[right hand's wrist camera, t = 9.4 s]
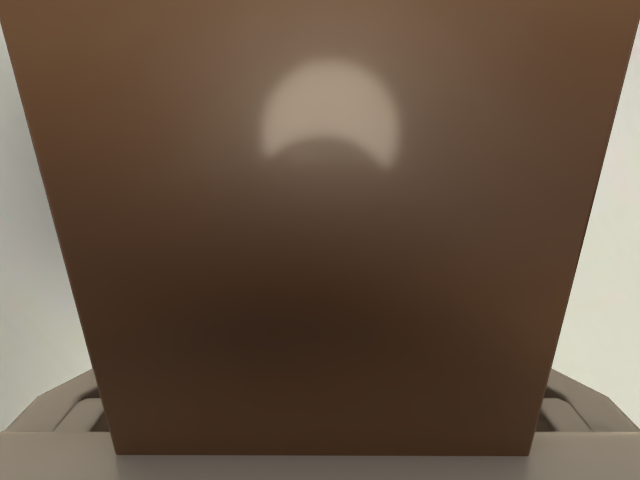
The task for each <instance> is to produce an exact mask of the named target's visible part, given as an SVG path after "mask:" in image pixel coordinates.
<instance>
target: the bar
mask: <svg viewBox="0 0 640 480" xmlns="http://www.w3.org/2000/svg"><path fill="white" fill-rule="evenodd" d="M639 20H640V0H0V22H1V26H2V30H3V34H4V37H5V41H6V45H7V49H8V52H9V56H10V60H11V64H12V67H13V71H14V75H15V79H16V82H17V86H18V90H19V94H20V97H21V101H22V105H23V109H24V112H25V116H26V120H27V124H28V128H29V131H30V135H31V139H32V143H33V146H34V150H35V154H36V158H37V161H38V165H39V169H40V173H41V176H42V180H43V184H44V188H45V191H46V195H47V199H48V203H49V206H50V210H51V214H52V218H53V221H54V225H55V229H56V233H57V236H58V240H59V244H60V248H61V251H62V255H63V259H64V263H65V266H66V270H67V274H68V278H69V281H70V285H71V289H72V293H73V296H74V300H75V304H76V308H77V311H78V315H79V319H80V323H81V326H82V330H83V334H84V338H85V341H86V345H87V349H88V353H89V356H90V360H91V364H92V368H93V371H94V375H95V379H96V383H97V386H98V390H99V394H100V398H101V401H102V405H103V409H104V413H105V416H106V420H107V424H108V428H109V431H110V435H111V439H112V443H113V447H114V450H115V454H117V455H287V456H528V455H529V454H530V450H531V446H532V442H533V438H534V434H535V430H536V426H537V422H538V418H539V414H540V410H541V406H542V402H543V398H544V395H545V391H546V387H547V383H548V379H549V375H550V371H551V367H552V363H553V359H554V355H555V351H556V347H557V343H558V339H559V335H560V331H561V327H562V324H563V320H564V316H565V312H566V308H567V304H568V300H569V296H570V292H571V288H572V284H573V280H574V276H575V272H576V268H577V264H578V260H579V256H580V252H581V249H582V245H583V241H584V237H585V233H586V229H587V225H588V221H589V217H590V213H591V209H592V205H593V201H594V197H595V193H596V189H597V185H598V181H599V178H600V174H601V170H602V166H603V162H604V158H605V154H606V150H607V146H608V142H609V138H610V134H611V130H612V126H613V122H614V118H615V114H616V110H617V106H618V103H619V99H620V95H621V91H622V87H623V83H624V79H625V75H626V71H627V67H628V63H629V59H630V55H631V51H632V47H633V43H634V39H635V35H636V31H637V28H638V24H639Z"/></svg>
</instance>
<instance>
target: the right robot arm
mask: <svg viewBox="0 0 640 480" xmlns="http://www.w3.org/2000/svg"><path fill="white" fill-rule="evenodd" d="M0 480H640V429H639V428H638V427H637V426H636V425H635V424H634V423H633V422H632V421H631V420H630V419H629V418H628V417H627V416H626V415H625V414H624V413H623V412H622V411H621V410H620V409H619V408H618V407H617V406H616V405H615V404H614V403H613V402H612V401H611V400H610V399H609V397H607V396H605V395H603V394H601V393H599V392H597V391H595V390H593V389H591V388H589V387H587V386H585V385H583V384H581V383H579V382H577V381H575V380H573V379H571V378H569V377H567V376H565V375H563V374H561V373H559V372H557V371H555V370H553V369H551V371H550V375H549V379H548V383H547V387H546V391H545V395H544V398H543V402H542V406H541V410H540V414H539V418H538V422H537V426H536V430H535V434H534V438H533V442H532V446H531V450H530V454H529V455H528V456H287V455H117V454H115V450H114V447H113V443H112V439H111V435H110V431H109V428H108V424H107V420H106V416H105V413H104V409H103V405H102V401H101V398H100V394H99V390H98V386H97V383H96V379H95V375H94V371H93V369H91V370H89V371H87V372H85V373H83V374H81V375H79V376H77V377H75V378H73V379H71V380H69V381H67V382H65V383H64V384H62V385H60V386H58V387H56V388H54V389H52V390H50V391H48V392H46V393H44V394H42V395H40V396H38V397H37V398H36V399H35V400H34V401H33V402H32V403H31V404H30V405H29V406H28V407H27V408H26V409H25V410H24V411H23V412H22V413H21V414H20V415H19V416H18V417H17V418H16V419H15V420H14V421H13V423H12V424H11V425H10V426H9V427H8V428H7V429H6V430H5V431H4V432H0Z"/></svg>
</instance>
